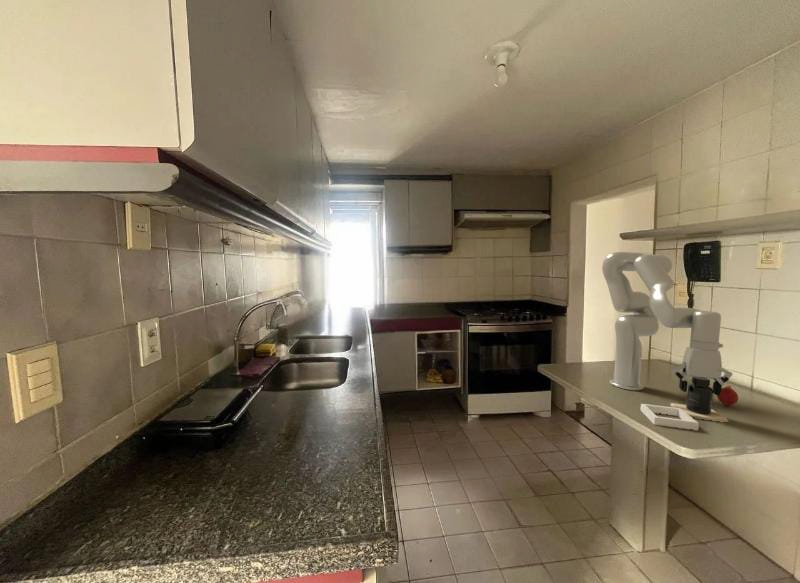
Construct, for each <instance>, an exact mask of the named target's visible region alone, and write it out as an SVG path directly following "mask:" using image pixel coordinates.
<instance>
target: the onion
mask: <svg viewBox="0 0 800 583" xmlns="http://www.w3.org/2000/svg"><path fill="white" fill-rule="evenodd" d="M716 397H717V399H718V401H719V402H720V403H721V404H723V405H724V406H726V407H730V406H732V405H734V404H737V402H738V401H739V395H738V393H737V392H736V391H735V390H734V389H733V388H732V386H731V385H727V386H725V387H722V389H721V393H720V396H717V395H716Z"/></svg>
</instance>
